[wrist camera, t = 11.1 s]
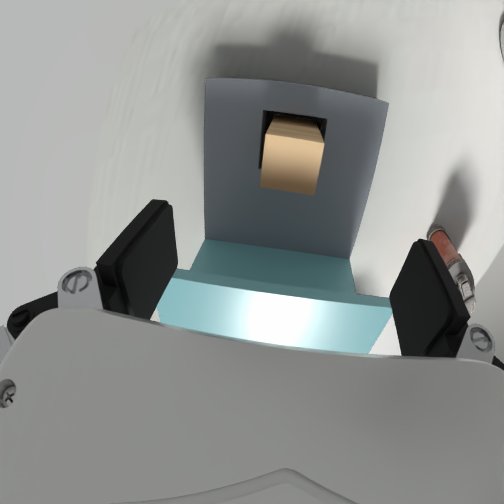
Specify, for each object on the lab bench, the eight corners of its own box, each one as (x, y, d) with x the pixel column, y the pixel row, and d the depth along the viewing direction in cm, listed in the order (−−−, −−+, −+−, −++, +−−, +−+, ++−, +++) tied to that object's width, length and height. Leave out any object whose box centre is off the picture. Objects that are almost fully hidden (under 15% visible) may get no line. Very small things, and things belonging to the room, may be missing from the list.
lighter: (457, 262, 32) (484, 313, 24) (438, 273, 34) (462, 326, 26) (442, 220, 29) (477, 271, 21) (421, 233, 31) (451, 287, 23)
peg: (275, 113, 26) (265, 133, 18) (315, 120, 26) (324, 143, 18) (271, 150, 28) (259, 186, 20) (309, 156, 28) (314, 195, 20)
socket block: (212, 77, 24) (128, 89, 12) (381, 99, 23) (463, 136, 10) (210, 227, 35) (162, 328, 22) (346, 246, 34) (365, 357, 21)
